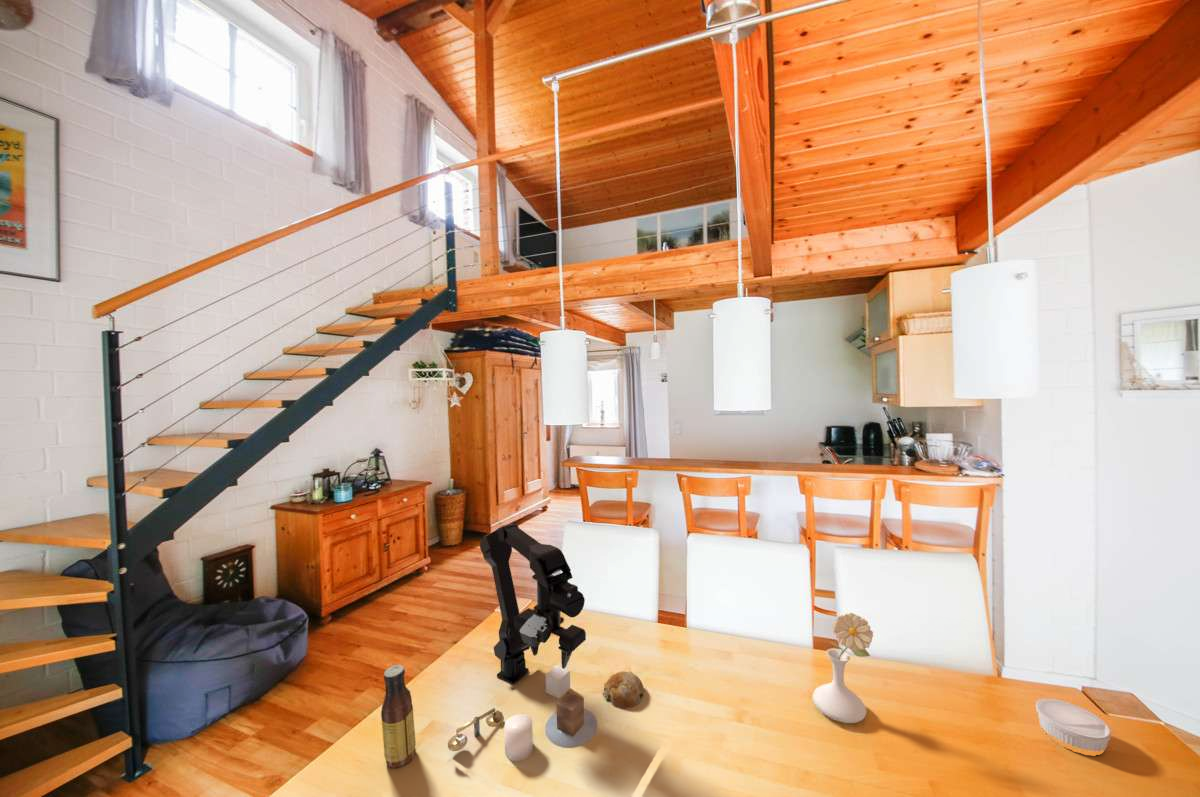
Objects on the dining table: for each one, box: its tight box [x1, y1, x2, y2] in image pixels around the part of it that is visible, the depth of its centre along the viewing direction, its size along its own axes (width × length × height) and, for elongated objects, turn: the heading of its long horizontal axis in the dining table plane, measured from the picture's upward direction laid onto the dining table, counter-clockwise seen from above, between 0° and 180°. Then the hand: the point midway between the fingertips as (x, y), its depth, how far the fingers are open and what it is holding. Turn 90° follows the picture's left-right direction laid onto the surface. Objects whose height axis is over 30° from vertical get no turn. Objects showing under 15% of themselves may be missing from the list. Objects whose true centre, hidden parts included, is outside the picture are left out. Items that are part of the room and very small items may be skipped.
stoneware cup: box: [503, 713, 534, 762], centre depth 95 cm, size 6×6×7 cm
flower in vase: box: [811, 612, 874, 724], centre depth 104 cm, size 13×11×25 cm
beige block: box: [545, 664, 571, 700], centre depth 113 cm, size 4×4×6 cm
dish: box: [544, 708, 598, 749], centre depth 101 cm, size 12×12×1 cm
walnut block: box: [556, 691, 585, 737], centre depth 101 cm, size 4×4×6 cm
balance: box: [447, 707, 504, 752], centre depth 99 cm, size 15×4×6 cm, turn 148°
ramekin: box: [1035, 698, 1112, 751], centre depth 95 cm, size 11×11×5 cm
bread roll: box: [602, 670, 645, 709], centre depth 111 cm, size 10×10×8 cm
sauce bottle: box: [380, 664, 417, 768], centre depth 95 cm, size 6×6×20 cm
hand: (549, 661), depth 109 cm, fingers open, 9 cm apart
